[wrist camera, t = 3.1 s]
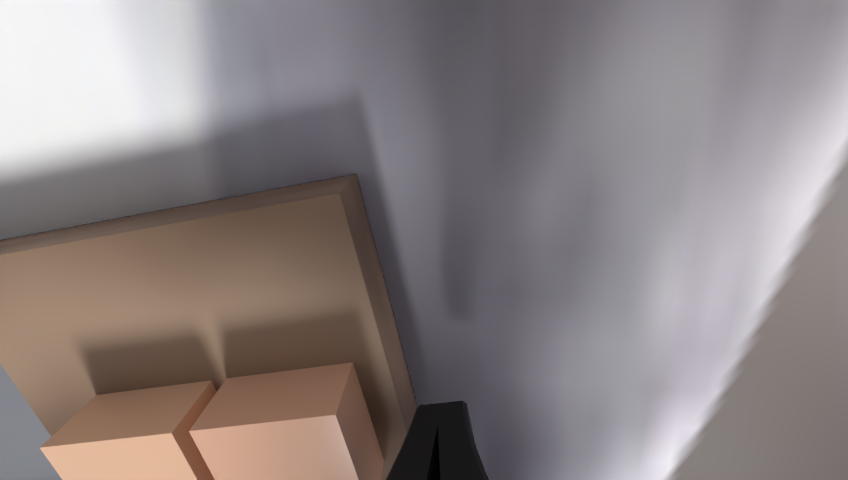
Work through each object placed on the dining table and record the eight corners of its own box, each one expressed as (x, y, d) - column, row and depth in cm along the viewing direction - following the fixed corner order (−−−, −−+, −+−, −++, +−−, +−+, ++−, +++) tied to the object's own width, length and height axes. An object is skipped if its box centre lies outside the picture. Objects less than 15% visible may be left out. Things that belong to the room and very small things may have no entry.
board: (443, 504, 17) (442, 557, 15) (178, 525, 19) (148, 575, 17) (356, 173, 12) (339, 193, 10) (2, 239, 14) (-67, 266, 12)
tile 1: (384, 461, 14) (373, 522, 12) (269, 471, 14) (243, 532, 12) (352, 362, 12) (335, 415, 10) (226, 378, 13) (188, 431, 11)
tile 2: (256, 473, 14) (227, 533, 12) (150, 483, 15) (108, 542, 13) (211, 380, 13) (171, 433, 11) (96, 395, 13) (39, 447, 12)
